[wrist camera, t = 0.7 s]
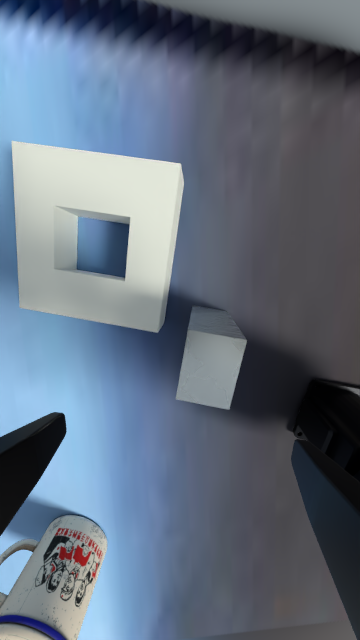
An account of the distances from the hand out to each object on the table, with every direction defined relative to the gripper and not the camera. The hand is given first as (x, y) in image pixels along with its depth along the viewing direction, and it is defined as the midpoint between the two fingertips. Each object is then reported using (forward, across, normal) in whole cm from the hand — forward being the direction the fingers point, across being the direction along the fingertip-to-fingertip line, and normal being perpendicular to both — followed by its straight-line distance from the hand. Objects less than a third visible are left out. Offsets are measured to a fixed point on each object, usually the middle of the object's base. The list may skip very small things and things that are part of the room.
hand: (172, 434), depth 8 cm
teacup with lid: (+12, +16, +29) cm, 35 cm away
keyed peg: (+12, -1, -1) cm, 12 cm away
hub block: (+12, +8, -8) cm, 16 cm away
